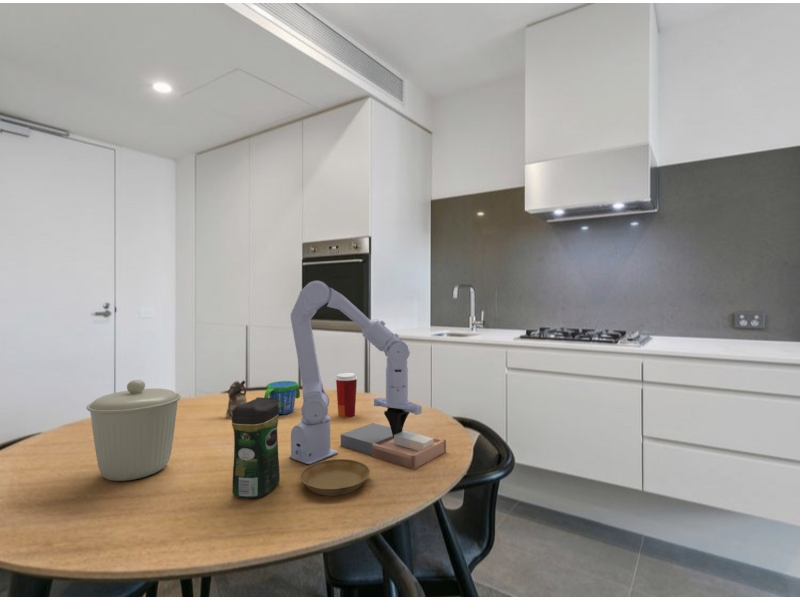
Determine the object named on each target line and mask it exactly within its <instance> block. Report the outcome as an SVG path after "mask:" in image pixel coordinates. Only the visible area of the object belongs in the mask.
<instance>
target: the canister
mask: <svg viewBox="0 0 800 600" xmlns="http://www.w3.org/2000/svg"><path fill="white" fill-rule="evenodd" d="M126 389H127V390H123V391H119V392H112V393H109V394H106V395H102V396H100V397H98V398H95V400H93V401H92V402H90V403H88V404H87V405H86V406H85V407H86V410H87V411H88V412H90V420H91V427H92V434H93V435H92V436H93V442H94V443H93V444H94V450H95V455H96V456H95V457H96V461H97V466H98V471H99V473H100V475H101V476H102V477H103V478H104V479H106V480H108V481H114V482H115V481H116V482H124V481H132V480H133V481H134V480H137V479H141V478H145V477H149V476H152V475H153V474H156V473H158V472H159V471H162V470H163V469H164V468H165V467H166V466H167V464H168V463H169V461H170V459H171V455H172V449H173V444H174V443H173V442H174V437H175V436H174V435H175V426H176V418H177V410H178V403H179V401H180V399H181V398H182V396H181V394H179V393H177V392H175V391H173V390H170V389H167V388H146V383H145V382H144V380H141V379H134V380H131V381H129V382H128V383H127V384H126Z"/></svg>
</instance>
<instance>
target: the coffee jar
mask: <svg viewBox="0 0 800 600" xmlns="http://www.w3.org/2000/svg"><path fill="white" fill-rule="evenodd" d="M278 413H279V412H278V404H277V402H276V401H275V400H274V399H273V398H269V397H268V398H264V397H261V396H260V397H256V398H254V399H252V400H250V401H247V403H245V404H242V405H239V406H237V407H236V408H234V409H233V410H232V419H231V426H232V429H233V435H234V436H233V438H234V439H233V440H234V445H233V446H234V447H233V448H234V449H233V469H232V485H231V486H232V487H231V489H232V490H231V491H232V494H233V495H234V496H236V497H237V498H240V499H243V500H244V499H246V500H250V499H256V498H262V497H264V496H266V495H267V494H268V493H270V492H271V491H273V490H274V489H275V487H276V486H277V485H278V484H279V483H280V479H281V477H280V459H279V444H278V443H279V442H278V441H279V440H278V426H279V425H278V424H279V423H278V422H279V418H280V416H279V414H278Z"/></svg>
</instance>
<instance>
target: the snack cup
mask: <svg viewBox="0 0 800 600" xmlns="http://www.w3.org/2000/svg"><path fill="white" fill-rule="evenodd" d="M300 397H301V390H300V387H299V384H298V381H292V380H280V381H278V380H277V381H273V382H269V383H267V385H266V390H265V392H264V397H263V398H273V399H274V400H275V401H276V402H277V404H278V412H279V413H278V414H283V415H287V414H290V413H293V412H294V410H295V402H296V399H299V398H300Z"/></svg>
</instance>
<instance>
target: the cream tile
mask: <svg viewBox="0 0 800 600" xmlns="http://www.w3.org/2000/svg"><path fill="white" fill-rule="evenodd" d="M420 434H421V433H419V435H417V436H414V437H412V438H410V439H409V444H408V448H410V449H414V450H417V451H421V450H423V449H425V448H427V447H429V446H431V445H433V444H434V439H433V438H430V437H426V436H423V435H424V434H423V435H420Z"/></svg>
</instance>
